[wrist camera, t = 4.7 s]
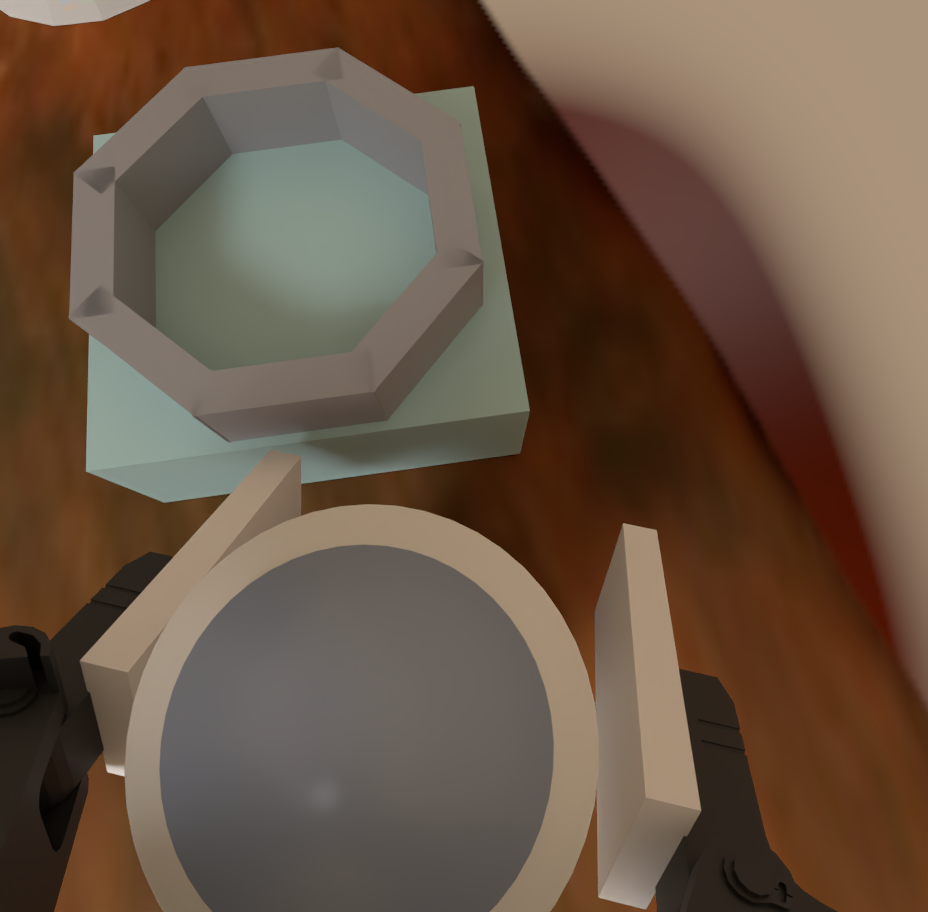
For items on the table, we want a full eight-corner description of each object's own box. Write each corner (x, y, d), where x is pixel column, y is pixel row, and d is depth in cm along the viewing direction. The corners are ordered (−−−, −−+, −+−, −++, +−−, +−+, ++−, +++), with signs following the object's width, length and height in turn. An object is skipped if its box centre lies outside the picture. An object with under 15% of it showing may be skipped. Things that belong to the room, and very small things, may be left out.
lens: (323, 585, 19) (103, 526, 8) (515, 558, 19) (564, 462, 8) (339, 798, 17) (97, 1090, 6) (547, 768, 17) (663, 1006, 6)
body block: (161, 222, 22) (47, 77, 16) (474, 180, 22) (473, 22, 16) (164, 502, 19) (30, 449, 14) (520, 453, 20) (536, 380, 14)
